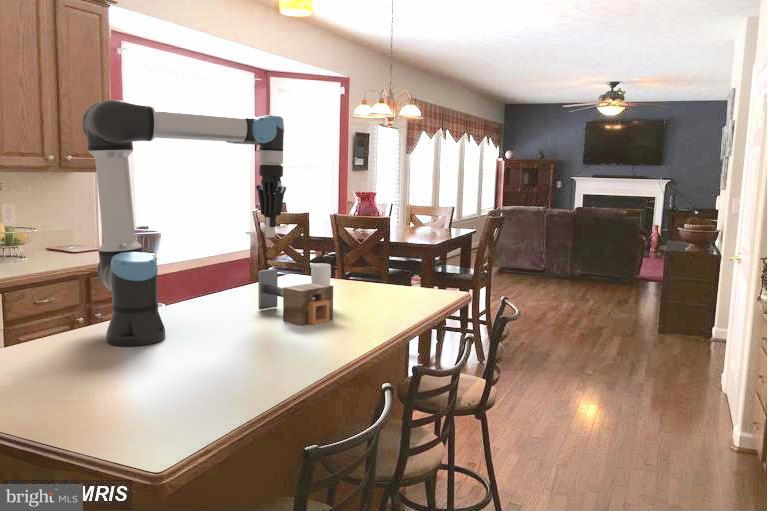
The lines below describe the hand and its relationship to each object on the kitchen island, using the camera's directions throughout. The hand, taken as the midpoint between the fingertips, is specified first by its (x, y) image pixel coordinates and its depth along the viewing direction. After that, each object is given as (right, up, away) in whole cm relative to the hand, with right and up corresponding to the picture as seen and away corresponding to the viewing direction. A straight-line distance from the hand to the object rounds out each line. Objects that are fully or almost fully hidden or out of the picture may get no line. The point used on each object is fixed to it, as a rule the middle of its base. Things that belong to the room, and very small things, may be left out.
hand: (270, 236), depth 209 cm
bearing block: (+13, -27, -6) cm, 30 cm away
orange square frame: (+17, -24, -10) cm, 31 cm away
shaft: (+6, -25, 0) cm, 26 cm away
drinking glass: (+15, -24, +13) cm, 32 cm away
